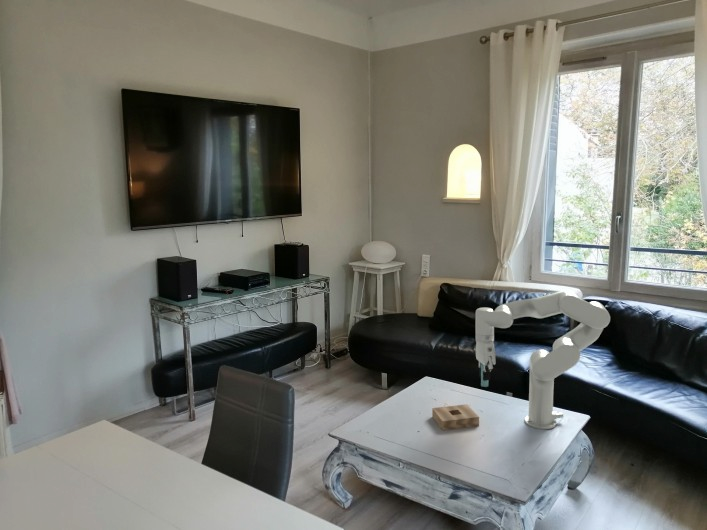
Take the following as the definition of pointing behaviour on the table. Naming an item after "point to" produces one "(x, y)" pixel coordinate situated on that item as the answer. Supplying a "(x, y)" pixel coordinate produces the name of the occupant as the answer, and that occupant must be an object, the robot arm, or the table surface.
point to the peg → (483, 383)
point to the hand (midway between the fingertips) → (484, 378)
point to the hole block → (455, 417)
